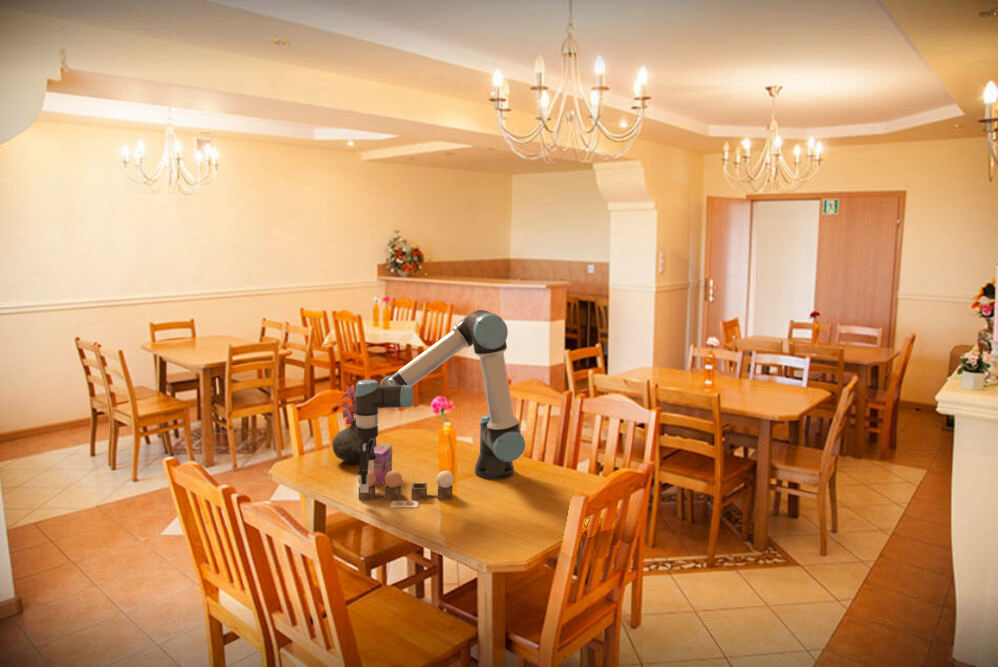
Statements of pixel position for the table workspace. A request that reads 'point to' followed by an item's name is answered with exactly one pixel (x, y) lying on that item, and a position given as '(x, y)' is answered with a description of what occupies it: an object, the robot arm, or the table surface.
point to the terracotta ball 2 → (393, 479)
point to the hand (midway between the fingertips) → (367, 485)
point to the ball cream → (445, 479)
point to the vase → (349, 434)
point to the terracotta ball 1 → (370, 479)
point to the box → (382, 462)
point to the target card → (404, 504)
